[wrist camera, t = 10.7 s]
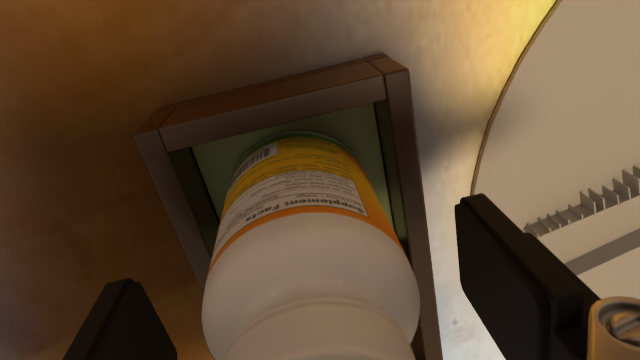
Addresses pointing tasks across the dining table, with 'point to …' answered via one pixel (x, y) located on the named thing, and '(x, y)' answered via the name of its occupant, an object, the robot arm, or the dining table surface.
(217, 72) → the dining table surface
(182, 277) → the dining table surface
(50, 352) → the dining table surface
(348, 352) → the supplement bottle
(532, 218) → the plate
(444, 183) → the dining table surface
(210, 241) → the divided wooden tray
